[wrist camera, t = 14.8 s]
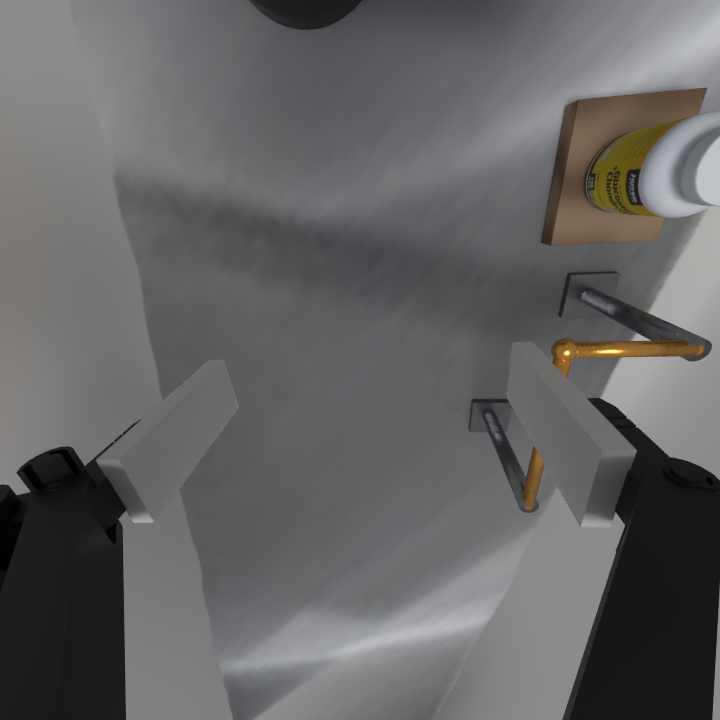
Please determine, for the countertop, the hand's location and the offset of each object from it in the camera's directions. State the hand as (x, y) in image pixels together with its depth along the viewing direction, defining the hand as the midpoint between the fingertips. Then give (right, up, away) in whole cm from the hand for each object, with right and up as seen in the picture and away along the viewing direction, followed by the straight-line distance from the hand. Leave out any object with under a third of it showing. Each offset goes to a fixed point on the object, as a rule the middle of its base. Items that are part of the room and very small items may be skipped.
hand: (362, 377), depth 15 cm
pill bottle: (+24, +18, +15) cm, 34 cm away
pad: (+24, +19, +17) cm, 36 cm away
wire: (+22, +1, +27) cm, 35 cm away
